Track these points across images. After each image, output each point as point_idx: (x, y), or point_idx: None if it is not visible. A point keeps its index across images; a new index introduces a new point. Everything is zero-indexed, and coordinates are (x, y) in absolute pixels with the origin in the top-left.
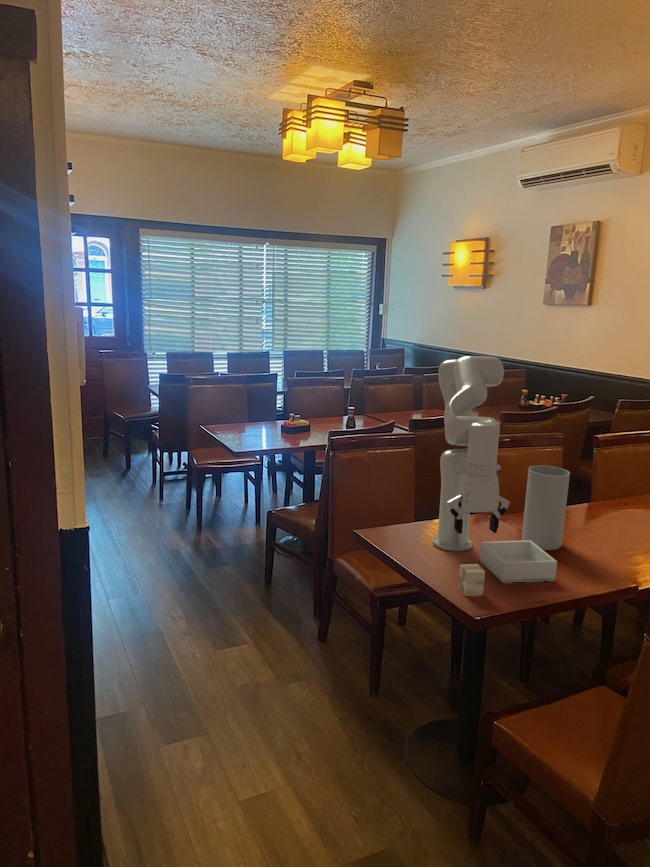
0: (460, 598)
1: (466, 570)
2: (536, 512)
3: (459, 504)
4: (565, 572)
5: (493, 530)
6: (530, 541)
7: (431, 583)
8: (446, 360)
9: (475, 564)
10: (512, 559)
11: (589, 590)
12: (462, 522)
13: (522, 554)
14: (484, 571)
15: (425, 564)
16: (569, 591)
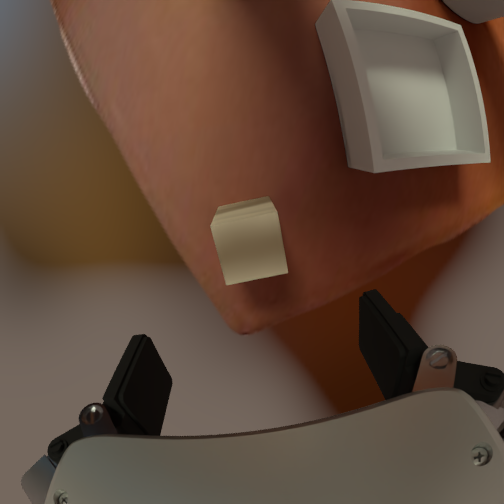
0: (216, 264)
1: (226, 271)
2: None
3: (79, 448)
4: None
5: (362, 348)
6: (460, 31)
7: (148, 188)
8: None
9: (267, 218)
10: (401, 44)
11: (487, 200)
12: (158, 430)
13: (427, 36)
14: (286, 272)
15: (145, 67)
16: (462, 205)
